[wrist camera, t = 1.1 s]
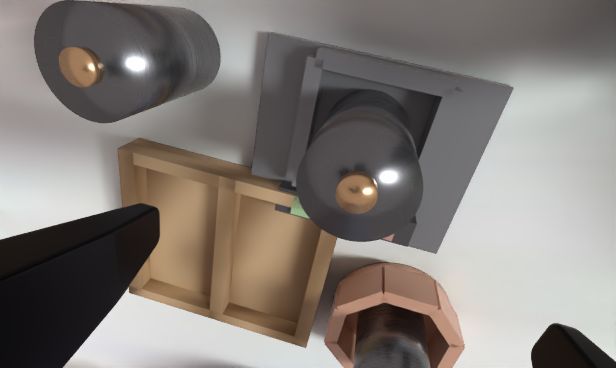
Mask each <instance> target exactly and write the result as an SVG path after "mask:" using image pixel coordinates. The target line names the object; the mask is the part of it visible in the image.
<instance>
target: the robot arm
mask: <svg viewBox="0 0 616 368" xmlns="http://www.w3.org/2000/svg"><path fill="white" fill-rule="evenodd" d="M159 238H160V212H159V209H158V208H157V207H155V206H151V205H148V204H144V203H138V204H134V205H131V206H127V207H123V208H119V209H115V210H112V211H108V212H104V213H100V214H96V215H93V216H89V217H85V218H81V219H77V220H73V221H70V222H66V223H62V224H58V225H54V226H51V227H47V228H43V229H39V230H35V231H32V232H28V233H24V234H20V235H16V236H12V237H9V238H5V239H1V240H0V368H63V367H64V366H65V364H66V363H67V362H68V361H69V360H70V358H71V357H72V356H73V355H74V354H75V352H76V351H77V350H78V349H79V348H80V346H81V345H82V344H83V343H84V342H85V340H86V339H87V338H88V337H89V336H90V334H91V333H92V332H93V331H94V330H95V329H96V327H97V326H98V325H99V324H100V323H101V321H102V320H103V319H104V318H105V317H106V315H107V314H108V313H109V312H110V311H111V309H112V308H113V307H114V306H115V305H116V303H117V302H118V301H119V300H120V298H121V297H122V296H123V294H124V293H125V291H126V290H127V289H128V287H129V286H130V284H131V283H132V281H133V280H134V278H135V277H136V275H137V274H138V272H139V271H140V269H141V268H142V266H143V265H144V263H145V262H146V260H147V259H148V258H149V256H150V255H151V253H152V252H153V250H154V249H155V247H156V246H157V244H158V242H159ZM531 360H532V366H533V368H616V362H615V361H614V360H613V359H612V358H611V357H610V356H608V355H607V354H606V353H605V352H604V351H602V350H601V349H600V348H599V347H598V346H596V345H595V344H594V343H593V342H592V341H591V340H589V339H588V338H587V337H586V336H585V335H583V334H582V333H581V332H580V331H579V330H577V329H575V328H572V327H569V326H566V325H562V324H559V323H553V324H551V325H550V326H549V327H548V328H547V329H546V330H545V332H544V333H543V334H542V336H541V337H540V338H539V340H538V341H537V342H536V343H535V345H534V346H533V348H532V352H531Z"/></svg>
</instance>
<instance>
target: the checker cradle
mask: <svg viewBox="0 0 616 368" xmlns="http://www.w3.org/2000/svg"><path fill="white" fill-rule="evenodd" d="M364 89H373V90H379V91H382V92H385V93H387V94H389V95H391V96H392V97H394V98H395V99H396V100H397V101H398V102H399V103H400V104H401V105H402V107H403V108H404V110H405V112H406V114H407V117H408V120H409V124H410V128H411V132H412V136H413V140H414V144H415V148H416V152H417V156H418V160H419V164H420V168H421V172H422V177H423V196H422V200H421V204H420V206H419V208H418V210H417V212H416V214H415V215H414V217H413V218H412V219H411V221H410V222H409V223H408V224H407V225H406V226H404V227H403V228H402V229H401V230H399V231H398V232H396V233H394V234H392V235H390V236H388V237H385V238H383V239H381V240H385V241H388V242H392V243H396V244H399V245H403V246H407V247H408V246H410V247H413V248H417V249H420V250H424V251H428V252H431V253H435V254H436V253H437V251H438V249H439V247H440V245H441V243H442V240H443V238H444V236H445V234H446V232H447V230H448V228H449V225H450V223H451V221H452V219H453V217H454V215H455V213H456V210H457V208H458V206H459V204H460V202H461V200H462V198H463V195H464V193H465V191H466V189H467V187H468V185H469V183H470V180H471V178H472V176H473V174H474V172H475V170H476V168H477V165H478V163H479V161H480V159H481V157H482V155H483V153H484V150H485V148H486V146H487V144H488V142H489V140H490V138H491V135H492V133H493V131H494V129H495V127H496V125H497V123H498V120H499V118H500V116H501V114H502V112H503V110H504V108H505V105H506V103H507V101H508V99H509V97H510V95H511V93H512V90H513V87H511V86H509V85H506V84H502V83H497V82H493V81H488V80H484V79H479V78H475V77H470V76H466V75H462V74H457V73H453V72H448V71H444V70H439V69H435V68H430V67H426V66H421V65H417V64H412V63H408V62H403V61H399V60H395V59H390V58H386V57H381V56H377V55H372V54H368V53H363V52H359V51H354V50H350V49H345V48H341V47H337V46H332V45H328V44H323V43H319V42H314V41H310V40H305V39H301V38H296V37H292V36H287V35H283V34H278V33H274V32H271V33H268V41H267V49H266V57H265V65H264V73H263V82H262V90H261V98H260V106H259V114H258V122H257V130H256V139H255V147H254V155H253V163H252V171H251V174H252V175H256V176H260V177H264V178H267V179H271V180H275V181H279V182H281V184H280V185H279V187H278V190H280V191H284V192H288V193H291V194H295V195H297V189H296V177H297V171H298V167H299V165H300V162H301V160H302V158H303V156H304V155H305V153H306V151H307V150H308V148H309V146H310V145H311V143H312V141H313V140H314V138H315V136H316V135H317V133H318V131H319V130H320V128H321V126H322V125H323V123H324V121H325V120H326V118H327V116H328V115H329V113H330V111H331V110H332V108H333V107H334V105H335V104H336V103H337V102H338V101H339V100H340V99H341V98H343V97H344V96H346V95H347V94H349V93H352V92H354V91H358V90H364ZM294 197H295V196H294ZM295 198H296V199H297V198H298V197H295ZM295 198H294V199H293V201H294V200H296V199H295ZM264 201H265V200H264ZM296 201H299V198H298V199H297V200H296ZM296 201H294V202H293V203H292V208H291V207H287V206H283V205H280V204H275V210H276V211H280V212H283V213H287V214H290V215H294V216H298V217H301V218H305V219H309V220H311V219H310V218H309V217H308V216H307V214H306V213H305V211H304V210H303V208H302V209H301V204H300V203H299V204H300V205H298V202H296ZM295 202H296V203H295ZM294 204H295V205H296V206H297V207H296V206H295V205H294ZM294 208H296V209H294ZM297 208H298V209H297Z"/></svg>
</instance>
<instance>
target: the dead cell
mask: <svg viewBox="0 0 616 368" xmlns="http://www.w3.org/2000/svg"><path fill="white" fill-rule="evenodd" d="M353 368H431V367H430V360H429V352H428V345H427V337H426V330H425V322H424V315H423V314H422V313H419V312H416V311H412V310H409V309H405V308H402V307H399V306H395V305H392V304H388V303H385V302H384V303H381V304H378V305H375V306H372V307H369V308H366V309H363V310H360V311H358V318H357V329H356V340H355V352H354V363H353Z"/></svg>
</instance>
